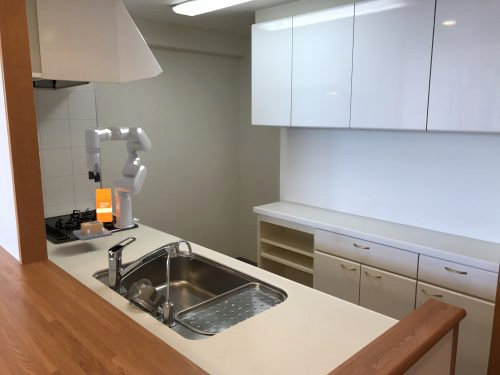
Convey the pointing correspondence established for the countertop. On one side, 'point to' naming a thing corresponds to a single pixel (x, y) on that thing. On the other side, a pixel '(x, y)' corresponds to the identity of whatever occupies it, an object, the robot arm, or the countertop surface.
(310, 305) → the countertop surface
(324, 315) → the countertop surface
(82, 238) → the pin tray
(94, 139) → the robot arm
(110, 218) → the orange juice
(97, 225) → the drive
